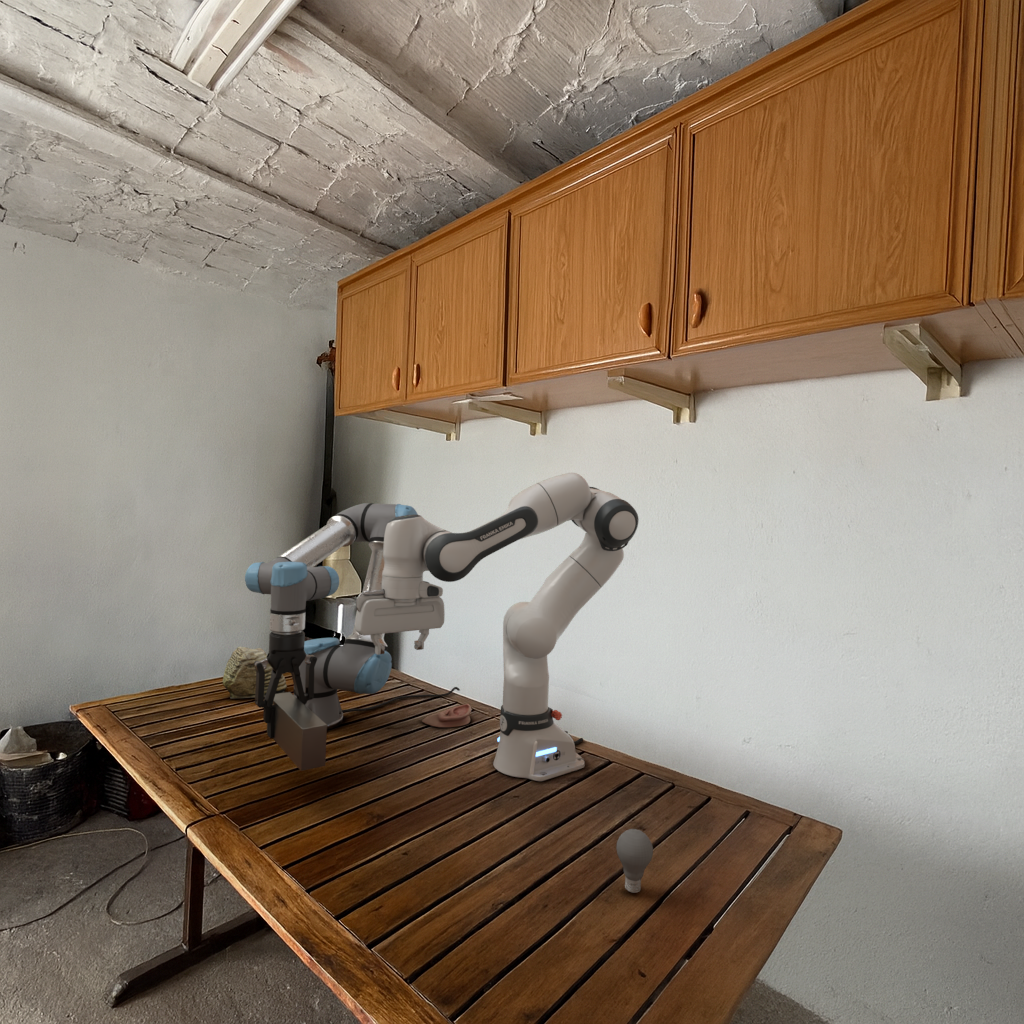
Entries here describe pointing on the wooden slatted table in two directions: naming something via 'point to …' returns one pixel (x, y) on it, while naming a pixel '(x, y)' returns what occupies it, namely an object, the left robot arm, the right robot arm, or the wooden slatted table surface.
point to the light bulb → (634, 857)
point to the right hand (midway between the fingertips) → (399, 651)
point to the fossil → (247, 673)
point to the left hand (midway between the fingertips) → (283, 733)
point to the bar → (299, 732)
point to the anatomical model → (450, 717)
